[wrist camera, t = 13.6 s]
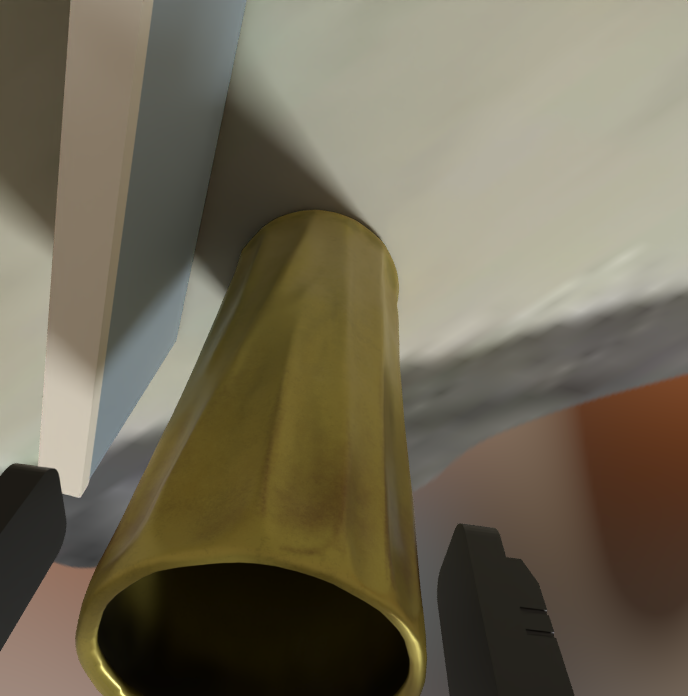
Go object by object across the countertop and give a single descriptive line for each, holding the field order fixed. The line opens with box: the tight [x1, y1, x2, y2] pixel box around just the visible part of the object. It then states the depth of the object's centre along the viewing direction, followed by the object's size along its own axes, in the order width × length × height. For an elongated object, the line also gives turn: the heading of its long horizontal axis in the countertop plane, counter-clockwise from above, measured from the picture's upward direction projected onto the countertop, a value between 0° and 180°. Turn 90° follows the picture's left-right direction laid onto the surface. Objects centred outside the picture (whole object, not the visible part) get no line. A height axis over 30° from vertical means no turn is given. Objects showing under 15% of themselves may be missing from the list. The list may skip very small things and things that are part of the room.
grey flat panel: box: [38, 0, 247, 498], centre depth 14 cm, size 14×1×9 cm, turn 161°
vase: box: [75, 210, 427, 696], centre depth 14 cm, size 6×6×14 cm
